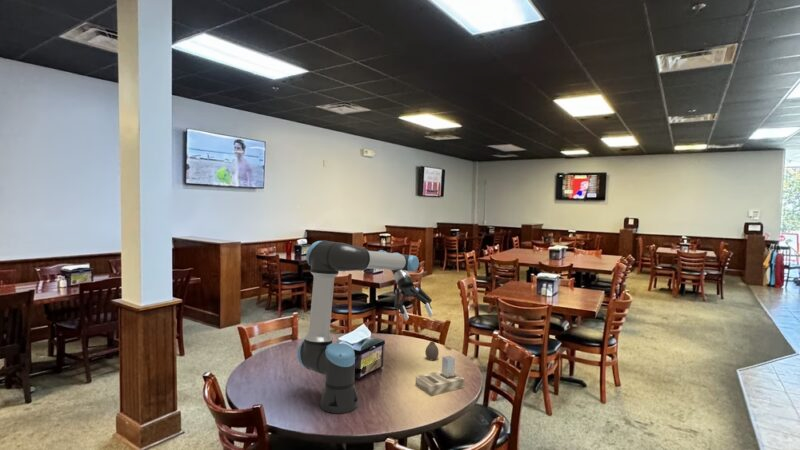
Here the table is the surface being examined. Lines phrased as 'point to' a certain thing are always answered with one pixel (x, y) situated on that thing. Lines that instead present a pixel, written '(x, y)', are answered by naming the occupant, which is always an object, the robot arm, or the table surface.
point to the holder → (438, 383)
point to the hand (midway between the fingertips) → (419, 317)
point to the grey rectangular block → (448, 367)
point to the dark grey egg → (432, 351)
